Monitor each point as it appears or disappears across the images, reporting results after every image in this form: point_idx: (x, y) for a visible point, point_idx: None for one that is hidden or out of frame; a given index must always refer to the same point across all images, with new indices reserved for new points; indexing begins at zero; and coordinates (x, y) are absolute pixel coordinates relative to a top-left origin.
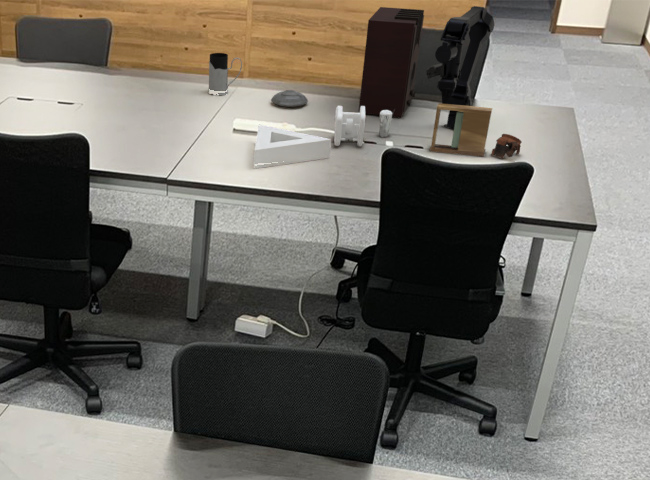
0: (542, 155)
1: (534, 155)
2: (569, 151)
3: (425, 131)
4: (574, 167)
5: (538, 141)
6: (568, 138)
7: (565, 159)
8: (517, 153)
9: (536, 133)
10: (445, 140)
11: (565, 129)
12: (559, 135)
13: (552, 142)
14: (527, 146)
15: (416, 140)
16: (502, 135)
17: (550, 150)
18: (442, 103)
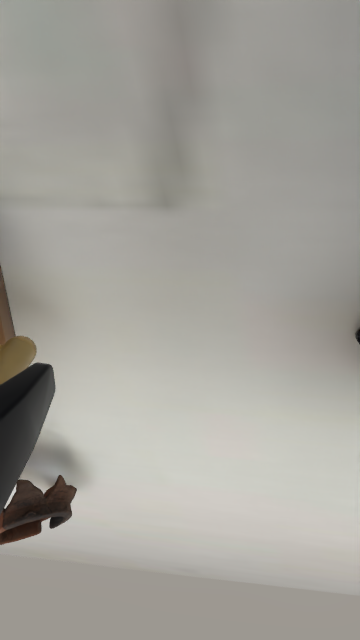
0: (83, 526)
1: (74, 514)
2: (144, 566)
3: (343, 135)
4: (18, 554)
5: (221, 538)
6: (263, 582)
7: (72, 552)
8: (47, 490)
9: (309, 546)
10: (151, 272)
11: (352, 590)
12: (290, 575)
13: (218, 556)
14: (159, 513)
15: (86, 59)
16: (6, 517)
17: (138, 544)
18: (3, 386)
